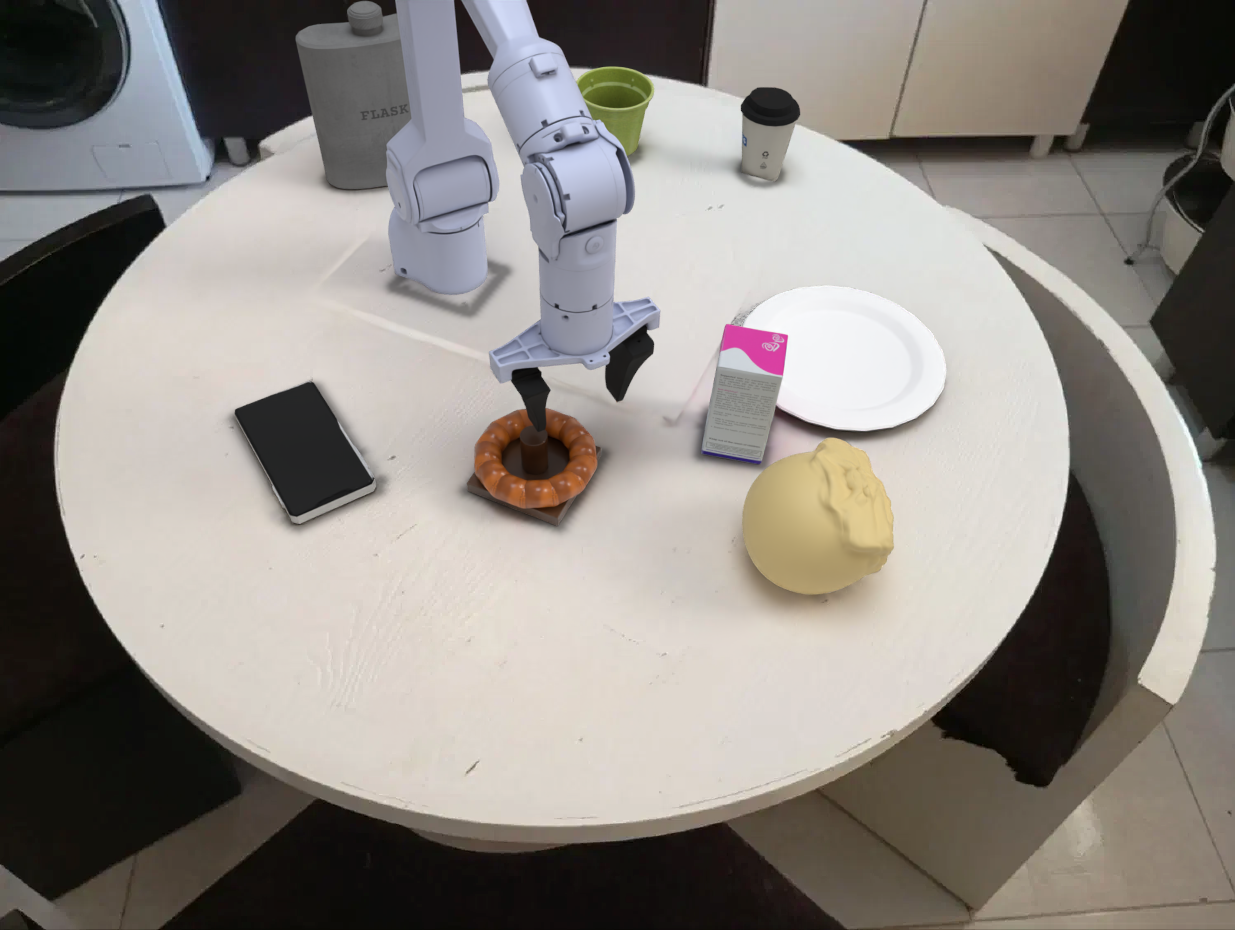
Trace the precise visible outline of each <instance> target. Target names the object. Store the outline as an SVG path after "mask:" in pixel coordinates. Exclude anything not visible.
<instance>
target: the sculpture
mask: <svg viewBox="0 0 1235 930" xmlns="http://www.w3.org/2000/svg"><path fill="white" fill-rule="evenodd" d="M894 518H895V517H894V513H893V510H892V501H891V499H890V497H889V496H888V494H887V492H886V489H885V485H884V482H882V480H881V479H880V478H879V477H877V476H876V474H875V473H874V470H873V467H872V464H871V460H870V457H869V455H868V453H867V452H866V451H865V450H864V449H861V448H859V447H857V446H854V445H853V446H852V445H851V444H850V443H849V442H847V441H845V440H843V439H840V438H836V437H827V438H825V439H823V440H822V441H821V442H820V443H818V445H817V446H816V448H815V449H813V450H812V451H806V452H799V453H795V454H791V455H788V456H785V457H783V458H780V459H778V460H776V461H775V462H773V463H771V464H770V465H768V466H767V467H766V468H765V469H764V470H762V471H761V472H760V473H759V474H758V476H756V478H755V479H754V481H753V482H752V483H751V485H750V487H749V489H748V491H747V494H746V497H745V499H744V503H743V507H742V515H741V529H742V530H741V531H742V536H743V542H744V546H745V548H746V551H747V553H748V556H749V557H750V559H751V561H752V564H754V566H755V567H756V568H757V570H758V571H759V572H760V573H761V574H762V575H763V576H764V577H765V579H767V580H768V581H770V582H771V583H772V584H774V585H776V586H778V587H780V588H782V589H784V590H787V591H790V592H792V593H797V594H803V595H823V594H829V593H833V592H837V591H840V590H842V589H845V588H848V587H849V586H851V585H853V584H855V583H857V582H858V581H860V580H861V579H863V578H865V577H867V576H869V575H872V574H876V573H878V572H880V571H881V570H882V568H883V566H885V565H886V564H887V562H888V558H889V555H890V554H891V553H892V551H893V550H894V548H895V543H894V533H893V532H894V522H895V521H894Z"/></svg>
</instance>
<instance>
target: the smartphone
mask: <svg viewBox="0 0 1235 930" xmlns="http://www.w3.org/2000/svg"><path fill="white" fill-rule="evenodd" d="M234 417H235V419H236V422H237V423H238V425H239V427H240V429H241V430H242V433H243V435H244V436H245V438H246V440H247V442H248V443H249V446H250V447H251V449H252V451H253V453H254V455H255V456H256V458H257V460H258V461H259V463H260V465H261V467H262V469H263V471H264V473H265V474H266V476H267V478H268V479H269V480H268V481H269V482H270V484H271V488H272V491H273V492H274V494H275V496H276V498H277V500H278V502H279V503H280V506H281V507H282V508H283V509H285V511H286V513H287V514H288V517H289V519H290V520H291V522H292V523H294V524H299V525H300V524H302V523H306V522H307V521H309V520H312V519H314V518H316V517H319V516H320V515H323V514H325V513H328V512H329V511H332V510H334V509H337V508H339V507H341V506H343V505H346V504H347V503H350V502H353V501H355V500H357V499H360V498H362V497H363V496H365V495H368V494H370V493H373V492H375V489H376V487H377V483H376V477H375V475H374V473H373V472H372V470H371V469H370V467H369V465H368V463H367V462H366V460H365V458H364V457H363V456H362V454H361V453H360V451H359V449H358V448H357V446H355V445H354V444H353V442H352V441H351V439H350V437H349V436H348V434H347V433H346V431H345V429H344V427H343V426H342V425H341V423H340V422H339V420H338V419H337V417H336V415H335V414H334V412H333V410H332V409H331V407H330V406H329V404H328V403H327V401H326V399H325V398H324V396H323V395H322V392H320V390H319V388H318V387H317V385H316V384H315V382H314V381H312V380H307V381H304V382H301V383H299V384H296V385H294V386H291V387H289V388H285V389H283V390H281V391H278V392H275V393H273V394H270V395H268V396H264V397H262V398H259V399H257V400H254V401H252V402H249V403H247V404H245V405H242V406H239V407H236V408H235V409H234Z"/></svg>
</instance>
